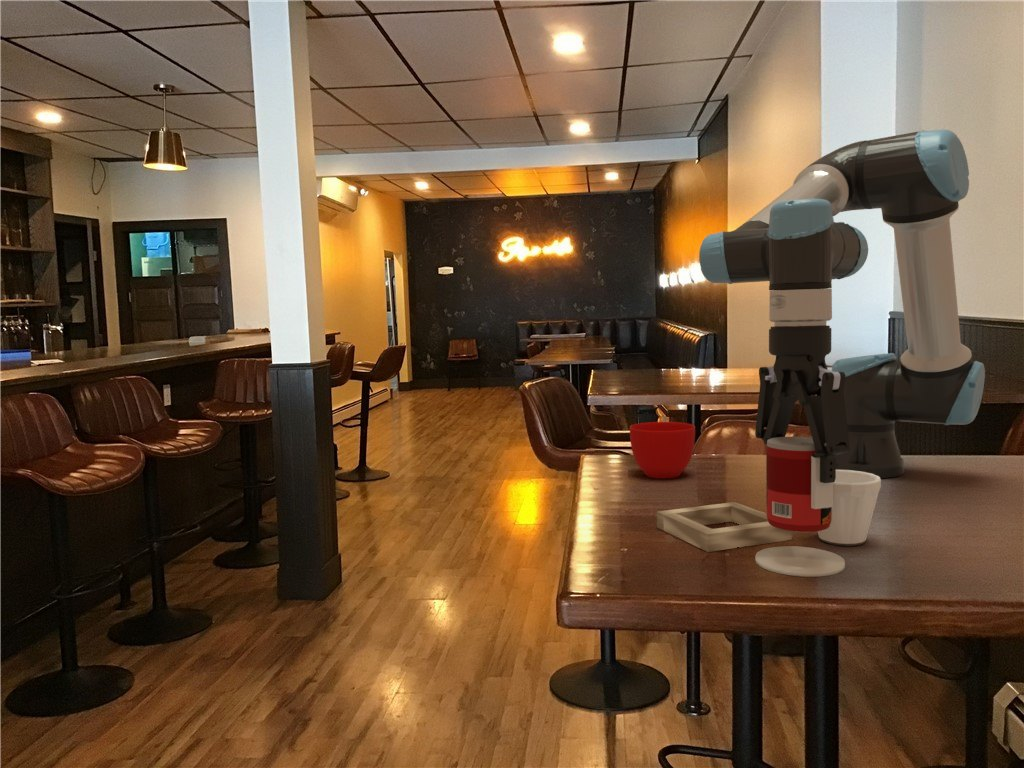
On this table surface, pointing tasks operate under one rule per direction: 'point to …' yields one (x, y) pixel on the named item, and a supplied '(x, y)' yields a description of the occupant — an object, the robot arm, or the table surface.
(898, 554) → the table surface
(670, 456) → the ceramic cup
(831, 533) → the cup
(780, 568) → the coaster
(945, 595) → the table surface
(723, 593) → the table surface
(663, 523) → the holder
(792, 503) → the canned food
